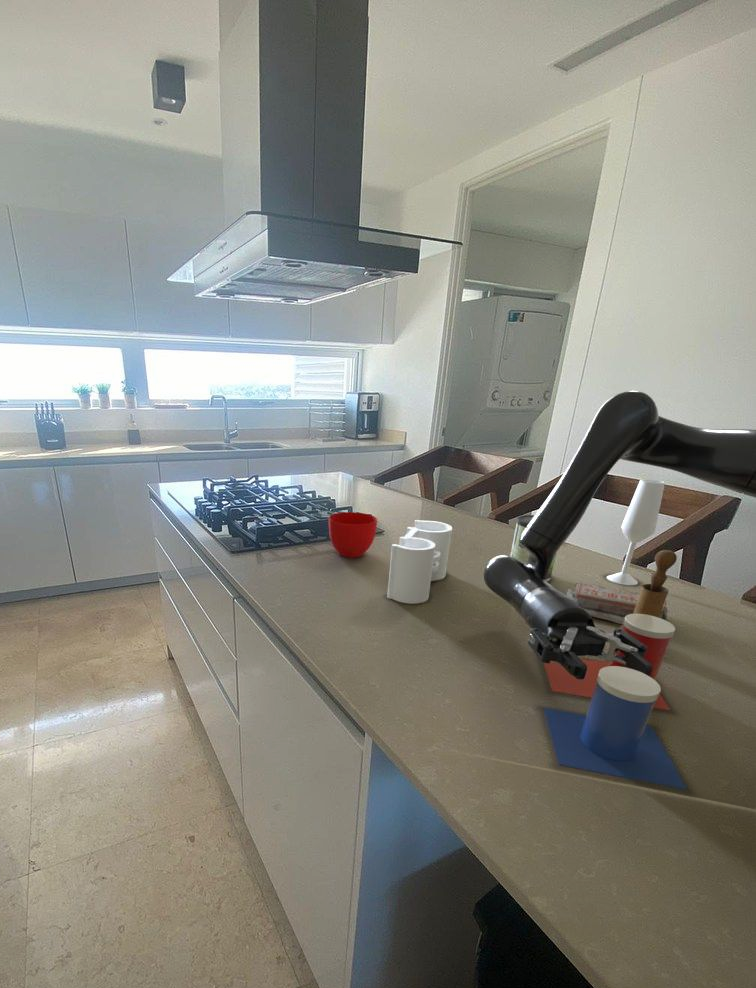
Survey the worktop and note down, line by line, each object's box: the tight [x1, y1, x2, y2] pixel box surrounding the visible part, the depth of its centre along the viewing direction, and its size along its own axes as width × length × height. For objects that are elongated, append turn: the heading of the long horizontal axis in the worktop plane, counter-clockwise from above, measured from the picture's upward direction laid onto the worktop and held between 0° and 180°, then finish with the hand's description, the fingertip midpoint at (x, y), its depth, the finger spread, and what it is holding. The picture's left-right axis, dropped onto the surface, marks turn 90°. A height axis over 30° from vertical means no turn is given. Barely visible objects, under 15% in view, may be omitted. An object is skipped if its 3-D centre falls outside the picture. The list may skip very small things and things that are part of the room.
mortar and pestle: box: [619, 549, 678, 629], centre depth 86 cm, size 7×6×18 cm
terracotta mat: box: [542, 658, 671, 711], centre depth 78 cm, size 16×12×1 cm
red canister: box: [610, 614, 676, 681], centre depth 77 cm, size 7×7×10 cm
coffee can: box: [509, 514, 557, 583], centre depth 118 cm, size 10×10×14 cm
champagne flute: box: [606, 478, 666, 586], centre depth 114 cm, size 7×7×24 cm
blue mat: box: [543, 707, 689, 790], centre depth 64 cm, size 14×12×1 cm
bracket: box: [386, 519, 453, 605], centre depth 112 cm, size 25×10×12 cm, turn 154°
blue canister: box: [580, 666, 662, 761], centre depth 62 cm, size 7×7×10 cm
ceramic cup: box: [328, 511, 378, 559], centre depth 133 cm, size 13×17×10 cm
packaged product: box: [565, 581, 669, 625], centre depth 101 cm, size 18×5×10 cm
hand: (615, 673), depth 63 cm, fingers open, 8 cm apart
